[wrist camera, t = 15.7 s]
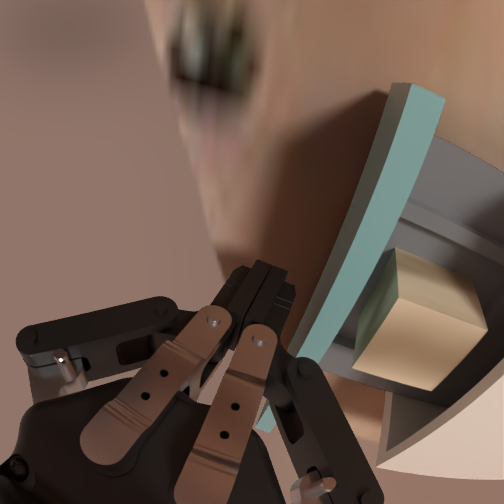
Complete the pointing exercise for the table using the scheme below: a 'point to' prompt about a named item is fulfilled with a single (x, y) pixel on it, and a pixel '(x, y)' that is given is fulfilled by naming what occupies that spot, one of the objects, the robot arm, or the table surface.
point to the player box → (447, 433)
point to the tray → (410, 244)
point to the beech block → (417, 322)
